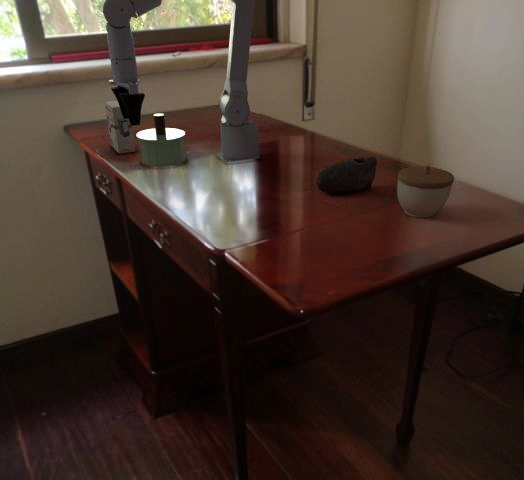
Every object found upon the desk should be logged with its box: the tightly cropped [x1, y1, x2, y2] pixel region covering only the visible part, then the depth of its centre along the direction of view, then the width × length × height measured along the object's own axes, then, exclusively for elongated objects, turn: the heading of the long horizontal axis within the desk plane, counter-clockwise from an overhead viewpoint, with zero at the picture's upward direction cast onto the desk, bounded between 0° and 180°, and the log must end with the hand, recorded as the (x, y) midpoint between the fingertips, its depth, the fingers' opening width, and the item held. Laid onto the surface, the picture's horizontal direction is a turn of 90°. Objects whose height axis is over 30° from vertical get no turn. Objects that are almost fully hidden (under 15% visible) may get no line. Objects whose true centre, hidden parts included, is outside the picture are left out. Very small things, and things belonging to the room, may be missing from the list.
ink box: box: [104, 100, 136, 154], centre depth 143 cm, size 9×5×12 cm, turn 27°
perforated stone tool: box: [316, 156, 378, 194], centre depth 117 cm, size 15×5×7 cm, turn 110°
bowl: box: [137, 136, 187, 167], centre depth 135 cm, size 11×11×6 cm
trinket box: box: [396, 164, 455, 219], centre depth 106 cm, size 11×11×9 cm
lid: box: [135, 113, 186, 142], centre depth 132 cm, size 12×12×6 cm
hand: (131, 121), depth 129 cm, fingers open, 7 cm apart
